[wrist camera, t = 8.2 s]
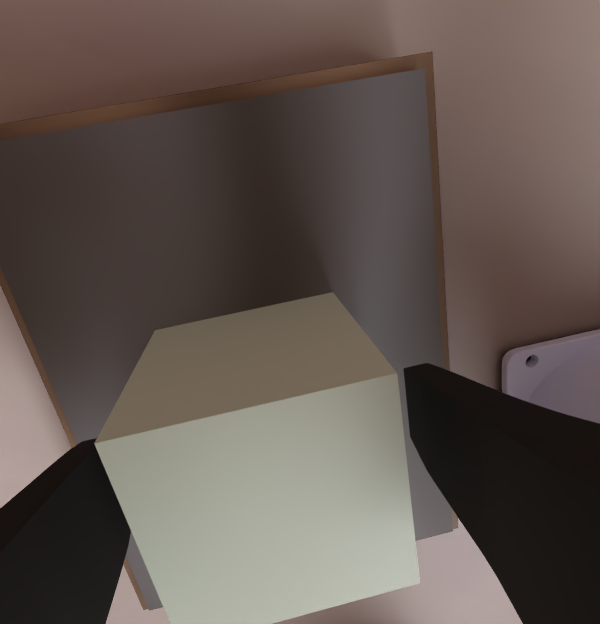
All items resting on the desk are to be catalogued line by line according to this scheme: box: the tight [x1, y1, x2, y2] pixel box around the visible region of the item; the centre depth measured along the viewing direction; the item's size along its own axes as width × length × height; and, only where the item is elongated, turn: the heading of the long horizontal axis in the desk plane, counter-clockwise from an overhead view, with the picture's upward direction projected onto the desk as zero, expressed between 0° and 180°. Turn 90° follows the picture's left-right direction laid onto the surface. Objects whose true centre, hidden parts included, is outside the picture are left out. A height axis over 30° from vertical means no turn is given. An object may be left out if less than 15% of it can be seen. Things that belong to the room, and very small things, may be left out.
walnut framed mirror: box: [0, 52, 458, 610], centre depth 13 cm, size 12×16×2 cm
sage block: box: [94, 292, 420, 624], centre depth 10 cm, size 5×5×5 cm
